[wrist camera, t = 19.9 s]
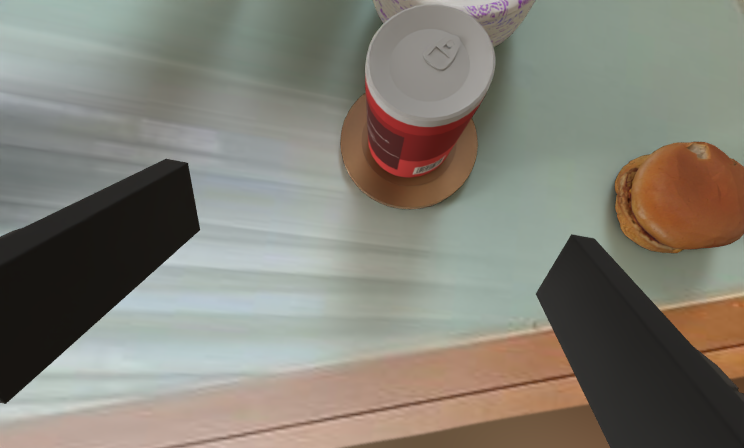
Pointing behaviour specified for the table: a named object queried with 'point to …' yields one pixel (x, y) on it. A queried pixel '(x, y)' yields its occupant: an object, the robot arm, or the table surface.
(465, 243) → the table surface
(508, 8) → the paper bowls
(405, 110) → the canned food
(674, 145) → the burger
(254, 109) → the table surface
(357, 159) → the plate
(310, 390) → the table surface
